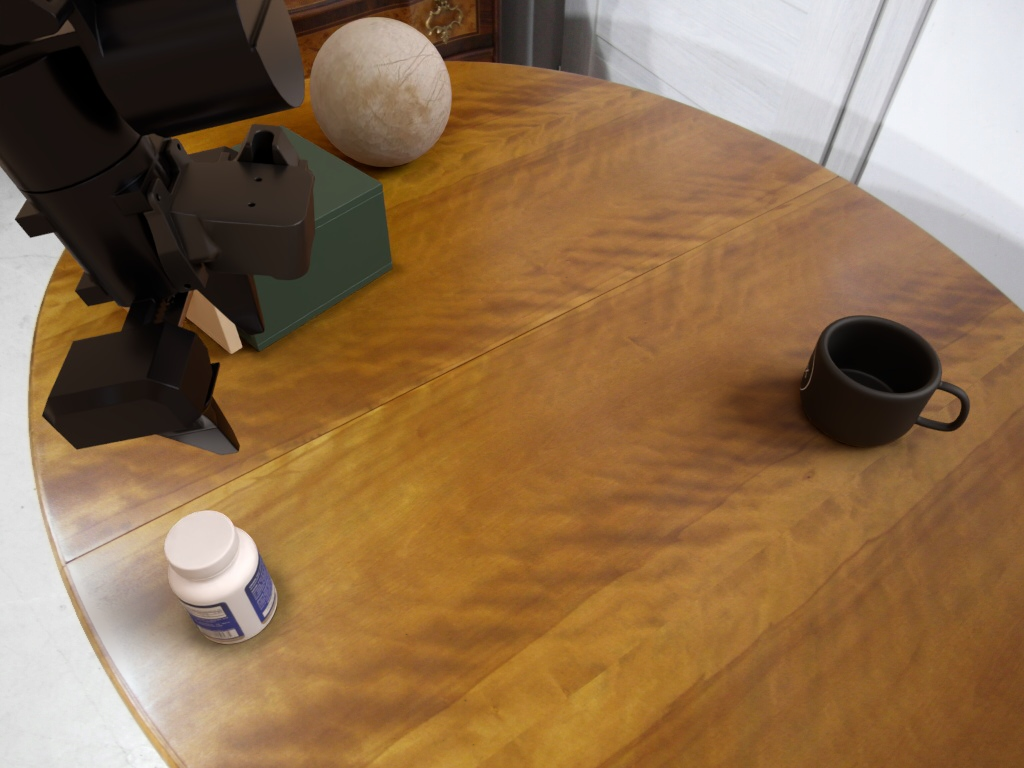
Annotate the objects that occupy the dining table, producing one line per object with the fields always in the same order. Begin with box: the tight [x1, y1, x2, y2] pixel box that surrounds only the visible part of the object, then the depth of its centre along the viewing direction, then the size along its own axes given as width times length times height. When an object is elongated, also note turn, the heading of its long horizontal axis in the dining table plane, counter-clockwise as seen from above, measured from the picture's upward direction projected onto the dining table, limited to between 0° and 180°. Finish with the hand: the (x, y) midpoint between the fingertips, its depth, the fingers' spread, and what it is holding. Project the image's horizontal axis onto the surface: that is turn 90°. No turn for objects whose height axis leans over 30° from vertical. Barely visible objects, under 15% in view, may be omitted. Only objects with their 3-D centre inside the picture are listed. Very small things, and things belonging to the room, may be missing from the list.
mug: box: [799, 314, 971, 448], centre depth 61 cm, size 12×9×7 cm
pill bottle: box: [163, 509, 278, 645], centre depth 48 cm, size 5×5×9 cm
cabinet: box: [230, 124, 394, 353], centre depth 71 cm, size 16×15×10 cm
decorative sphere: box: [309, 16, 453, 168], centre depth 83 cm, size 15×15×15 cm
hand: (245, 387), depth 45 cm, fingers open, 9 cm apart
